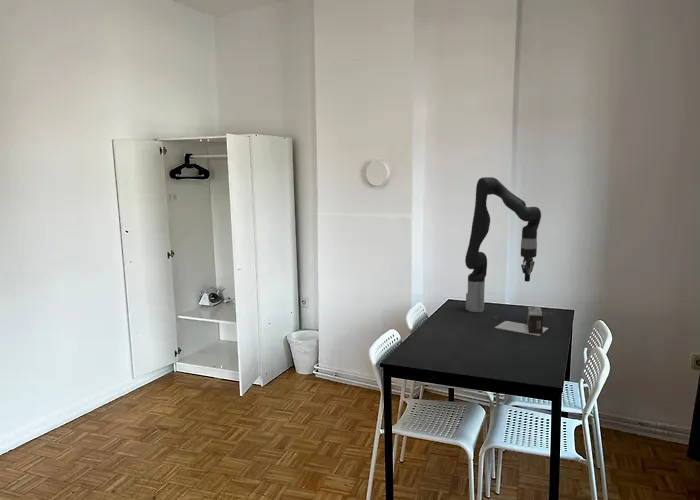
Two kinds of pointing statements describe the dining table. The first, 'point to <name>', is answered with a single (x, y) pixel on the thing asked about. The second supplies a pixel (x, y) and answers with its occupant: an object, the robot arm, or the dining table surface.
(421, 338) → the dining table surface
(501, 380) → the dining table surface
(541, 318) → the coffee box
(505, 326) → the grey mat
